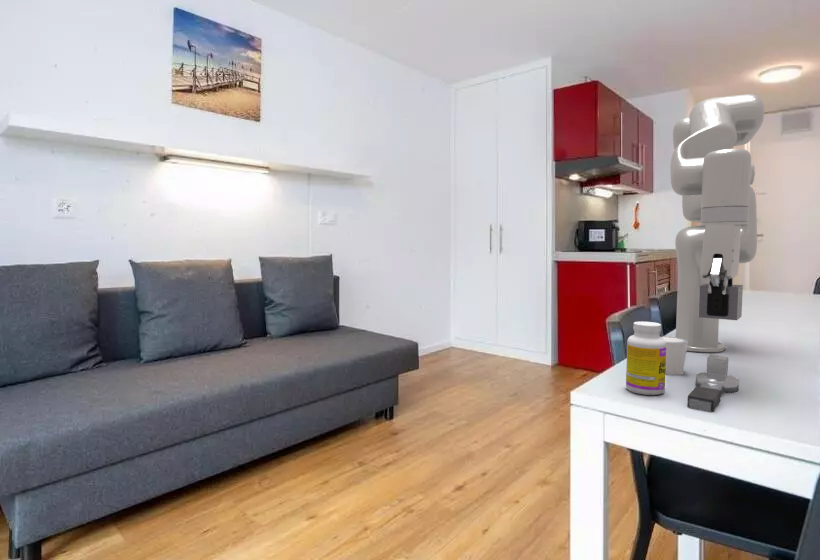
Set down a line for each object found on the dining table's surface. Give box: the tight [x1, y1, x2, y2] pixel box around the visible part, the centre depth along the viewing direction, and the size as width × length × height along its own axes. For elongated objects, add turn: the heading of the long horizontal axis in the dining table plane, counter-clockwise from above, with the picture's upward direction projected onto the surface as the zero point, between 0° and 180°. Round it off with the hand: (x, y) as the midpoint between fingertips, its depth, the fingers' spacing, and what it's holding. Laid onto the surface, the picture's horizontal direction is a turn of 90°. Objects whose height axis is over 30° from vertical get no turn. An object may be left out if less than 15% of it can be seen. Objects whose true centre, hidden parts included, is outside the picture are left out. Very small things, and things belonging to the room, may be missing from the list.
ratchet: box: [686, 354, 740, 413], centre depth 88 cm, size 20×7×6 cm, turn 139°
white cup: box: [661, 336, 688, 376], centre depth 104 cm, size 7×7×7 cm
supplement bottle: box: [625, 321, 667, 396], centre depth 91 cm, size 7×7×13 cm
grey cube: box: [699, 284, 744, 321], centre depth 91 cm, size 6×6×6 cm
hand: (720, 313), depth 91 cm, fingers closed on grey cube, 6 cm apart
